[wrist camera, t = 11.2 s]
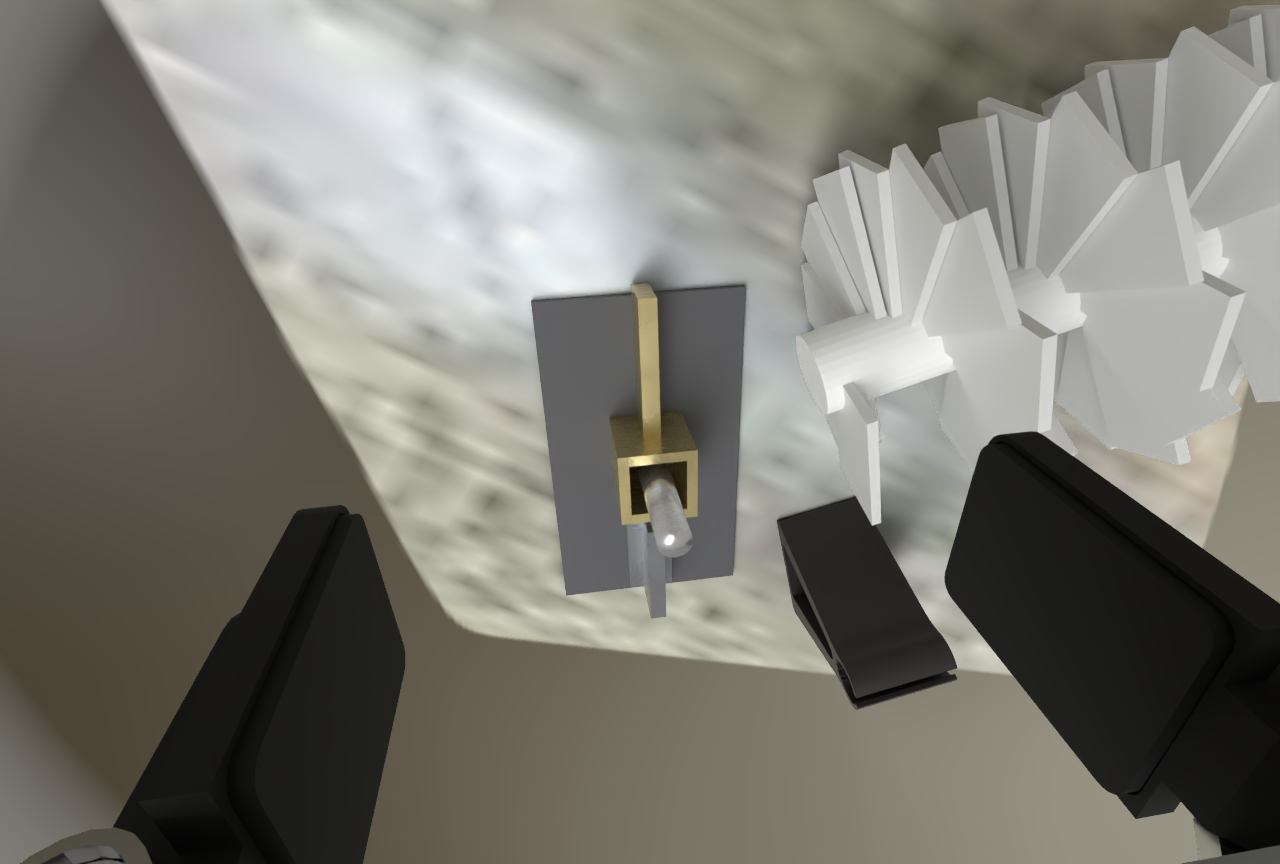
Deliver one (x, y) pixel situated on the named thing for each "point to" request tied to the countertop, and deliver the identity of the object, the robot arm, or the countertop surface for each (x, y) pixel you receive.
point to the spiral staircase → (1061, 261)
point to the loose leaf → (650, 424)
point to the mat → (605, 387)
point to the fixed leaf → (657, 536)
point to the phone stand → (860, 606)
